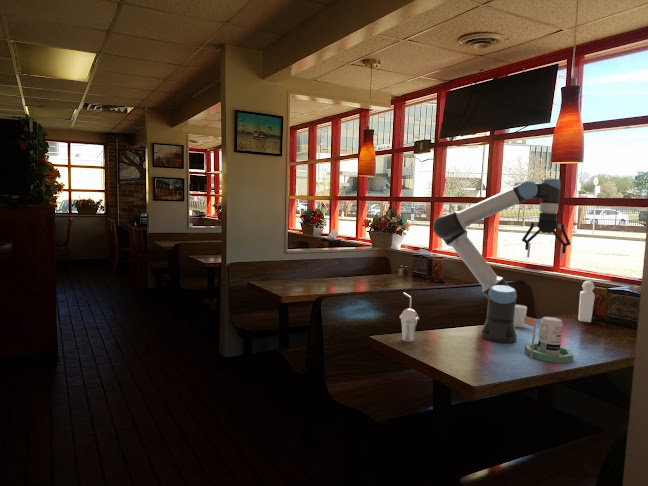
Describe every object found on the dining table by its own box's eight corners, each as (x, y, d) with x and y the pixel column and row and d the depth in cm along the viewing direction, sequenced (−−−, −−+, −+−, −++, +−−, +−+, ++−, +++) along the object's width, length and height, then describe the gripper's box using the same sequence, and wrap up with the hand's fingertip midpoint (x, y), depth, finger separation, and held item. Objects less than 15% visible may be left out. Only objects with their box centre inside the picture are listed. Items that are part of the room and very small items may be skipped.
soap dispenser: (590, 320, 257) (594, 280, 255) (592, 322, 251) (596, 282, 249) (577, 318, 259) (581, 279, 257) (578, 321, 253) (582, 281, 251)
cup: (544, 346, 204) (547, 310, 202) (580, 359, 189) (584, 321, 187) (513, 351, 195) (517, 314, 193) (549, 365, 180) (553, 324, 178)
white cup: (526, 328, 233) (528, 308, 232) (510, 326, 234) (511, 307, 233) (523, 324, 241) (525, 305, 240) (507, 322, 242) (509, 303, 241)
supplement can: (540, 349, 198) (543, 315, 196) (561, 354, 193) (565, 319, 191) (534, 354, 192) (538, 318, 190) (556, 359, 186) (560, 322, 185)
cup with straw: (399, 342, 200) (402, 296, 198) (396, 336, 209) (399, 292, 207) (419, 343, 200) (422, 297, 198) (415, 337, 209) (418, 292, 207)
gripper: (579, 214, 211) (574, 260, 214) (520, 211, 223) (515, 255, 225) (579, 214, 205) (574, 262, 207) (518, 211, 216) (514, 256, 218)
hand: (544, 258), depth 216 cm, fingers open, 13 cm apart
